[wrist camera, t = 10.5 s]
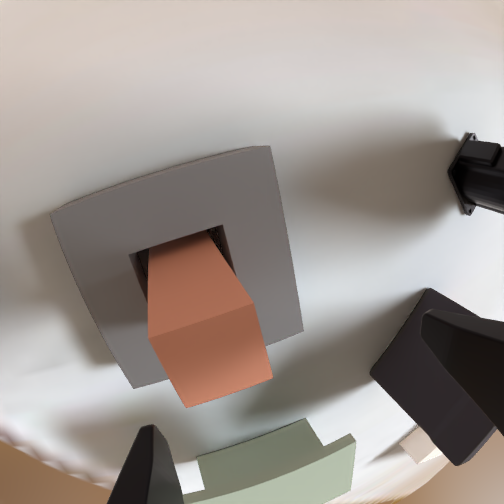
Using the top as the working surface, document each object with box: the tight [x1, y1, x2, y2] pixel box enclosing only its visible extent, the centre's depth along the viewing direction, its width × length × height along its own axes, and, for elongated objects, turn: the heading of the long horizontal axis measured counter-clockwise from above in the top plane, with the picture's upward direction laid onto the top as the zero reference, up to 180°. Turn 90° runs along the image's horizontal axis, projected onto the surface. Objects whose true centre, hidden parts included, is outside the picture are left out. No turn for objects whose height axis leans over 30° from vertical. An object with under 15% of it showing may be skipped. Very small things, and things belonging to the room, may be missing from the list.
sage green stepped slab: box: [183, 418, 356, 504], centre depth 21 cm, size 12×10×10 cm
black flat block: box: [370, 288, 497, 466], centre depth 22 cm, size 11×4×15 cm, turn 146°
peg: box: [148, 230, 273, 408], centre depth 15 cm, size 4×4×10 cm
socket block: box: [50, 146, 304, 389], centre depth 18 cm, size 12×12×3 cm
